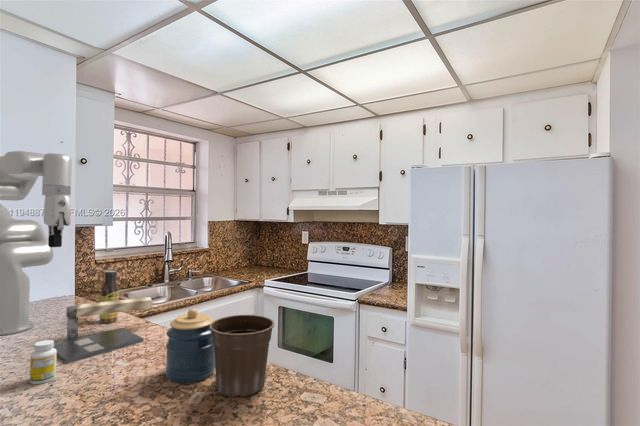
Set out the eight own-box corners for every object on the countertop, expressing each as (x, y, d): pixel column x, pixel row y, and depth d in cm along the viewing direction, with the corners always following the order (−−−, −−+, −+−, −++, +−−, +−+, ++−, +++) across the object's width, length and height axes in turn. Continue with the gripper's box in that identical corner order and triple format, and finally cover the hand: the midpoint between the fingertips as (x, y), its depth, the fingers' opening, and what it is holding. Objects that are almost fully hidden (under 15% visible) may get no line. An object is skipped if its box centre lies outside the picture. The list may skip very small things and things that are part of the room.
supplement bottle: (48, 383, 87) (49, 346, 87) (24, 385, 86) (25, 347, 86) (60, 374, 93) (61, 338, 93) (38, 375, 92) (38, 339, 92)
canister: (224, 367, 99) (226, 305, 99) (194, 388, 87) (196, 318, 87) (188, 359, 104) (189, 301, 104) (154, 379, 91) (155, 312, 91)
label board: (41, 345, 111) (42, 322, 111) (114, 327, 129) (114, 307, 129) (66, 363, 99) (67, 337, 99) (143, 341, 117) (143, 319, 117)
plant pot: (238, 366, 100) (240, 310, 100) (284, 380, 92) (286, 320, 92) (194, 390, 86) (195, 326, 86) (244, 410, 78) (246, 339, 78)
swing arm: (66, 318, 114) (66, 309, 114) (66, 314, 118) (66, 306, 118) (151, 307, 129) (152, 299, 129) (149, 304, 133) (149, 297, 133)
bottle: (109, 324, 133) (110, 273, 133) (95, 323, 134) (96, 272, 134) (122, 319, 139) (123, 270, 139) (108, 318, 140) (109, 269, 140)
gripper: (78, 192, 113) (76, 248, 113) (61, 192, 121) (60, 244, 122) (50, 190, 107) (48, 250, 107) (35, 190, 115) (33, 245, 115)
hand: (54, 246), depth 114 cm, fingers closed
